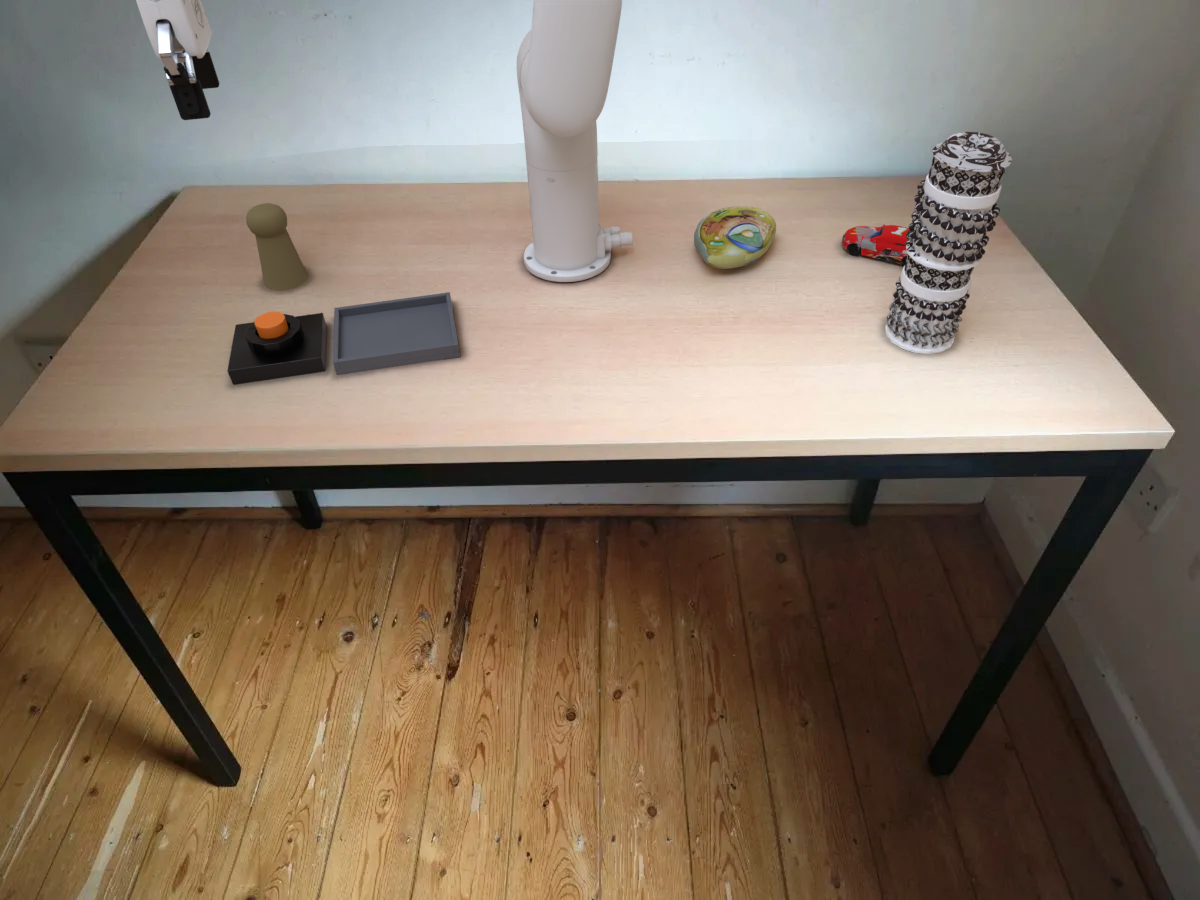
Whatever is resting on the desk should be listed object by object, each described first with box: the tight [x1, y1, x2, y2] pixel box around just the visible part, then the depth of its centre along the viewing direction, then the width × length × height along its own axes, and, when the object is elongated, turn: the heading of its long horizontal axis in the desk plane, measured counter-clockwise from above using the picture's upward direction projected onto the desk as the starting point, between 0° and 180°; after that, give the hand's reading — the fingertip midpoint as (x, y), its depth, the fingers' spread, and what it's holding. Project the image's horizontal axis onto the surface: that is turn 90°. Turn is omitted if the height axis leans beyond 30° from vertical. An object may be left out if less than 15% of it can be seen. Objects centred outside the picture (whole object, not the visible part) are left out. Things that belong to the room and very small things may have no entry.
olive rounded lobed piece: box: [245, 202, 309, 292], centre depth 115 cm, size 6×6×11 cm
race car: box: [841, 224, 911, 267], centre depth 119 cm, size 13×5×4 cm, turn 60°
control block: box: [226, 312, 328, 386], centre depth 104 cm, size 11×10×4 cm
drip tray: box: [332, 291, 461, 376], centre depth 107 cm, size 15×12×2 cm
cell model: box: [693, 206, 777, 270], centre depth 119 cm, size 11×8×15 cm
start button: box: [254, 311, 289, 339], centre depth 103 cm, size 4×4×2 cm
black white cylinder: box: [884, 131, 1013, 355], centre depth 97 cm, size 9×9×25 cm
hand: (201, 102), depth 99 cm, fingers open, 9 cm apart
